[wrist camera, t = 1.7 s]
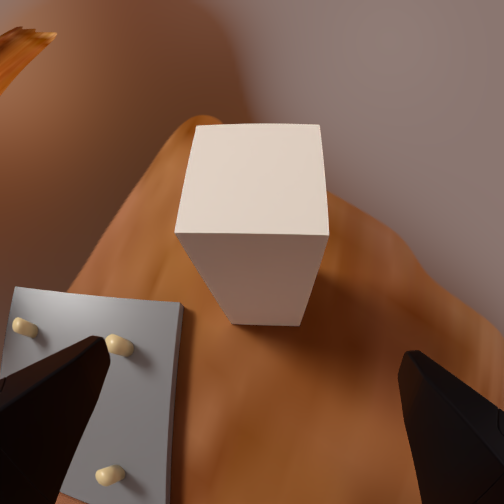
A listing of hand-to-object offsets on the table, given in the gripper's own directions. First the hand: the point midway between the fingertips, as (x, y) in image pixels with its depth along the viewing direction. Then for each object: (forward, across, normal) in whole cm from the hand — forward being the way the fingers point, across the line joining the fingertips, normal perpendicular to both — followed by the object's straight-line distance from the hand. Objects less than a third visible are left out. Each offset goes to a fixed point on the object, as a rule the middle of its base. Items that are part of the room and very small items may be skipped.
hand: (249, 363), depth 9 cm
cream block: (+13, 0, +4) cm, 13 cm away
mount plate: (+6, +14, +11) cm, 19 cm away
